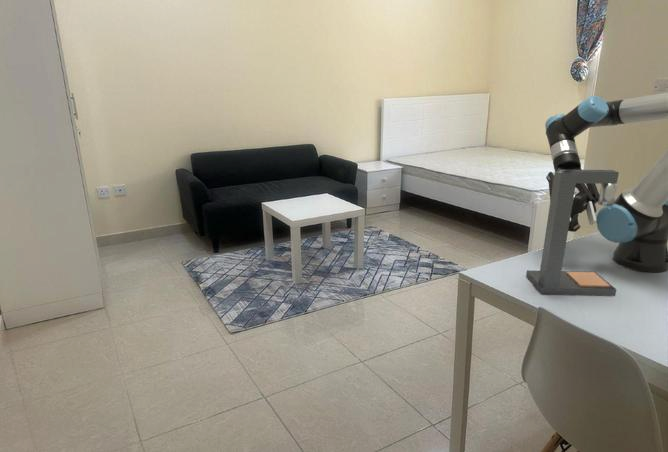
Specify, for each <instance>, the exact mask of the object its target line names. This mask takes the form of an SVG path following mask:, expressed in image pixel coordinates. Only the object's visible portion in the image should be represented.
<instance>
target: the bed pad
mask: <svg viewBox="0 0 668 452" xmlns="http://www.w3.org/2000/svg"><path fill="white" fill-rule="evenodd" d="M595 272H596V271H589V272H567V274H568V275H569V276H570V277H571V278H572V279H573V280H574V281H575V282H576V283H577V284H578V285H579V286H583V287H610V285H609V284H610V283H609V282H608V283H609V284H608V283H606V282H605V281H604V280H603V279H604V278H603V277H602V278H603V279H602V278H600V277H599V276H598V275H597V274H598V273H597V272H596V273H597V274H596V273H595Z"/></svg>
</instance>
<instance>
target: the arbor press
mask: <svg viewBox="0 0 668 452" xmlns="http://www.w3.org/2000/svg"><path fill="white" fill-rule="evenodd" d="M554 172H555V174H554V180H553V187H552V194H551V201H550V200H549V201H550V202H549V207H548V214H547V221H546V228H545V229H546V230H545V235H544V241H543V242H544V243H543V248H542V249H543V250H542V254H541V255H542V256H541V262H540V268H539V269H540V270H526V273H525V274H526V275H525V277H526V279H527V280H528V281H529V282H530V284H532V286H533V287H534V289H536V291H537V292H538V293H539V294H540V295H542V296H543V295H544V296H545V295H547V296H551V295H552V296H587V297H588V296H589V297H590V296H594V297H595V296H596V297H597V296H599V297H600V296H601V297H616V294H617V289H616V288H615V287H614V286H613V285H612V284H611V283H610V282H608V281H607V280H606V279H605V278H604V277H602V276H601V275H600V274H599V273H597V272H596V271H594V272H595V273H596V274H597V275H598V276H599V277H600V278H602V279H603V280H604V281H605V282H606V283H608V284H609V285H610V287H583V286H579V285H578V284H577V283H576V282H575V281H574V280H573V279H572V278H571V277H570V276H569V275H568V274H567V272H590V271H585V270H584V271H580V270H578V271H577V270H576V271H573V270H572V271H571V270H563V264H564V257H565V254H566V253H565V251H566V245H567V239H568V234H569V231H568V228H569V222H570V216H571V210H572V204H573V198H574V193H575V192H576V188H575V186H576V183H584V184H586V183H592V184H595V185H596V184H597V185H598V184H600V189H599V200H598V202H597V205H600V206H603V207H605V206H613V205H614V201H615V200H616V194H617V188H618V185H619V184H618V178H619V175H620V172H619V171H616V170H614V169H582V170H558V171H555V170H554Z"/></svg>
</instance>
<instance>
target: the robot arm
mask: <svg viewBox="0 0 668 452" xmlns="http://www.w3.org/2000/svg"><path fill="white" fill-rule="evenodd" d="M658 120H668V92H661V93H655V94H654V93H653V94H649V95H644V96H643V95H642V96H637V97H631V98H626V99H625V98H624V99H618V100H612V101H605V100H604V99H603V98H602V97H599V96H598V95H592V96H589V97H588V98H586V99H585V100H582V101H581V102H580V104H578V105H577V106H575V107H574V108H573V109H572V110H570V111H569V112H568V113H567V114H565V113H559V114H557V113H556V114H555V115H554V116H553V115H552V116H550V117H549V118H548V119H546V122H545V123H544V125H545V135H546V136H547V137H546V138H547V140H548V145H549V150H550V156H551V160H552V165H553V169H554V172H552V171H549V172H548V173H547V175H546V176H545V178H546V181H547V182H548V190H549V201H551V194H552V187H553V180H554V174H555V171H558V170H583V169H582V163H581V159H580V156H579V151H578V148H577V147H578V146H577V143H576V139H575V138H576V137H578V136H579V135H580V134H582V133H584V132H585V131H586V130H588V129H590V128H595V127H609V126H610V127H611V126H613V127H614V126H618V125H625V124H632V123H633V124H634V123H639V122H640V123H641V122H649V121H658ZM575 189H577V192H581V193H586V194H587V195H588V202H587V208H586V210H585V211H586V215H587V220H588V224H589V225H590V226H592V225H594V224H595V223H596V228H597V230H598V232H599V234H600V235H601V236H602V237H603V238H604V239H606V240H608V241H609V242H612V243H615V244H616V243H618V245H617V246H616V248H615V250H614V251H613V255H612V260H613V262H615V263H616V264H618V265H620V266H622V267H624V268H627V269H630V270H634V271H640V272H645V273H646V272H647V273H662V272H667V271H668V149H666V150H665V152H664V153H663V154H662V155H661V156H660V158H659V159H658V160H657V161H656V162H655V163H654V164H653V166H652V167H651V168H649V170H647V172H646V173H645V174H644V175H643V177H642V178H641V179H639V182H637V184H636V185H635V186H634V187H633V188H626V189H624V190H623V191H622V192H621V193H620V194H619V196H617V198H615V199H614V205H613V206H603V207H602V208H600V210H599V211H598V212H597V206H596V204H598V200H599V195H600V192H599V191H598V188H597V185H596V184H592V183H576V186H575ZM596 212H597V214H596ZM570 221H571V217H570Z"/></svg>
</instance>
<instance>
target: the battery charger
mask: <svg viewBox="0 0 668 452" xmlns="http://www.w3.org/2000/svg"><path fill="white" fill-rule="evenodd" d="M587 202H588V195H587V194H586V193H581V192H579V191H575V192H574V198H573V204H572V210H571V216H570V217H571V221H570V222H569V228H568V232H573V233H575V232H578V231H579V230H580V228H581V225H580V223H579V214H582V213H583V212H585V211H586V208H587Z"/></svg>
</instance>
